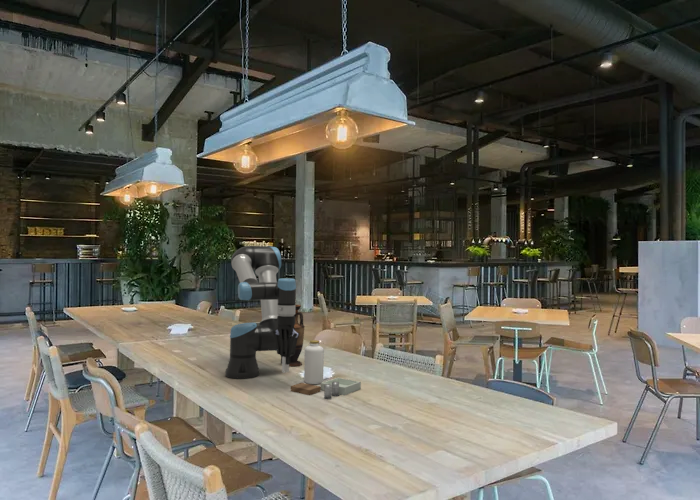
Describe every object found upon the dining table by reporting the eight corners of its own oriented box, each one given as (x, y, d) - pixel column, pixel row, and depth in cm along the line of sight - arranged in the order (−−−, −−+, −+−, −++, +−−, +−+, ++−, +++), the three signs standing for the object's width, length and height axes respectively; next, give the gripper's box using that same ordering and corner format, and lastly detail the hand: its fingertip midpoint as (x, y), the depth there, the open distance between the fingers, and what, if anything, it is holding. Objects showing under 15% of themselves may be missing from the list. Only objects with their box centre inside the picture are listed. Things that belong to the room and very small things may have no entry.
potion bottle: (320, 385, 212) (321, 343, 212) (301, 384, 214) (302, 342, 214) (325, 380, 220) (326, 340, 221) (307, 379, 222) (307, 339, 222)
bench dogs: (322, 398, 193) (323, 385, 193) (334, 393, 200) (334, 381, 200) (328, 399, 192) (328, 386, 192) (340, 395, 198) (340, 382, 198)
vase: (278, 365, 249) (279, 305, 249) (288, 361, 259) (289, 303, 260) (297, 367, 245) (298, 306, 245) (307, 363, 255) (308, 304, 255)
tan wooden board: (290, 392, 203) (290, 386, 203) (301, 388, 209) (301, 382, 209) (309, 396, 197) (309, 390, 197) (320, 392, 203) (320, 386, 203)
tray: (320, 390, 205) (320, 383, 205) (337, 384, 214) (337, 377, 215) (344, 395, 198) (344, 387, 198) (360, 388, 208) (360, 381, 208)
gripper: (268, 314, 210) (267, 371, 209) (292, 317, 203) (291, 375, 202) (280, 313, 216) (279, 368, 215) (304, 315, 209) (303, 372, 208)
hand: (285, 371), depth 209 cm, fingers closed
